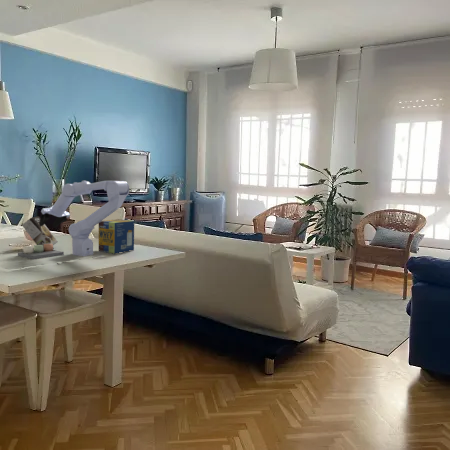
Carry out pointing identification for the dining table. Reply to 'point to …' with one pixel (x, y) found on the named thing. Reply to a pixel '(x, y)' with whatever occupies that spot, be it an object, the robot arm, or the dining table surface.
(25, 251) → the cream button
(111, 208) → the robot arm
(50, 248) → the terracotta button
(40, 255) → the console
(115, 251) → the protein box
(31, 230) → the coffee box
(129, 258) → the dining table surface
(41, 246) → the sage button
